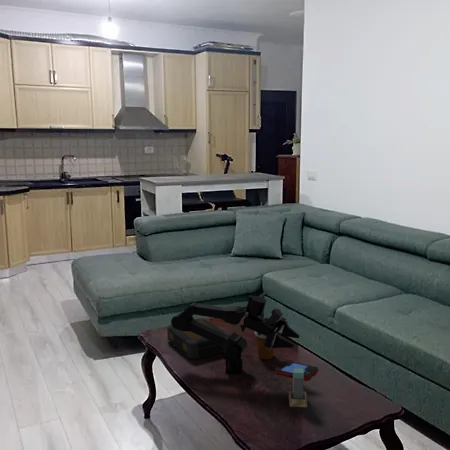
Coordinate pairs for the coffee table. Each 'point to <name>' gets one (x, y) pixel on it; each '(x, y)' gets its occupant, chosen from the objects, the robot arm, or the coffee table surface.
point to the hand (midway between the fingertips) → (296, 341)
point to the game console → (288, 366)
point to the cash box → (194, 341)
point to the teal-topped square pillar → (298, 383)
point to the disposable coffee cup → (263, 347)
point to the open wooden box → (297, 400)
